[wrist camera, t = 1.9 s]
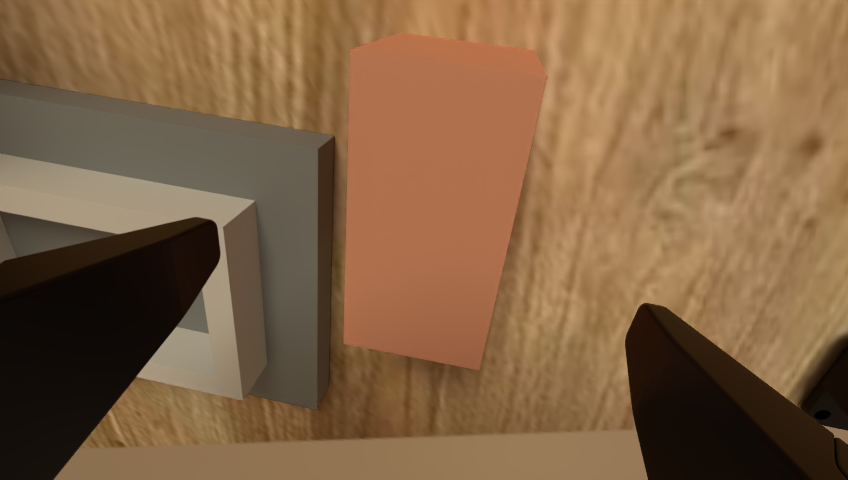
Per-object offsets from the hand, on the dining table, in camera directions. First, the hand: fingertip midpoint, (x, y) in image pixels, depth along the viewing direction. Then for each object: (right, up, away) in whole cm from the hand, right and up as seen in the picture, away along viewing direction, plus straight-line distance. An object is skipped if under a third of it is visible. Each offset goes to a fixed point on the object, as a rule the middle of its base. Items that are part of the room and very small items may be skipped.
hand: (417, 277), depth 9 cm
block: (+1, +3, +6) cm, 7 cm away
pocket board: (-12, +1, +9) cm, 15 cm away
